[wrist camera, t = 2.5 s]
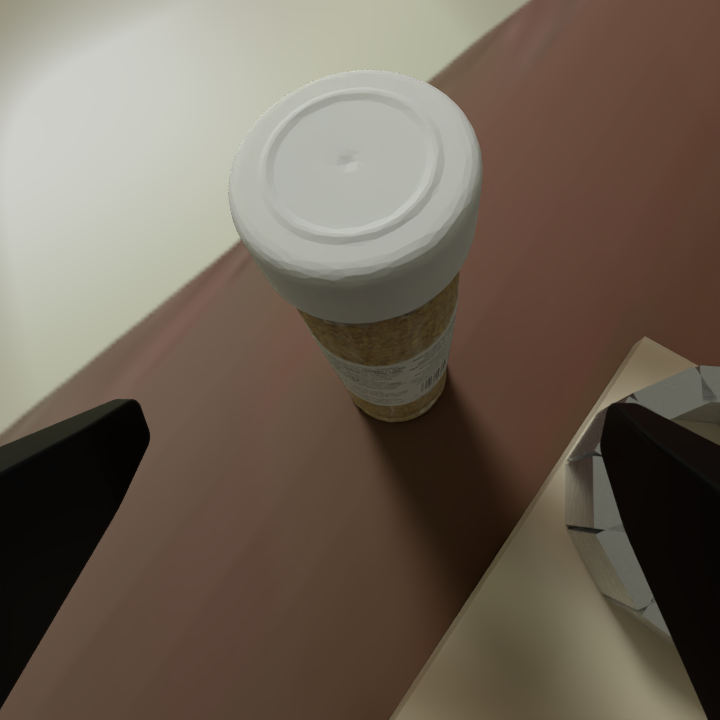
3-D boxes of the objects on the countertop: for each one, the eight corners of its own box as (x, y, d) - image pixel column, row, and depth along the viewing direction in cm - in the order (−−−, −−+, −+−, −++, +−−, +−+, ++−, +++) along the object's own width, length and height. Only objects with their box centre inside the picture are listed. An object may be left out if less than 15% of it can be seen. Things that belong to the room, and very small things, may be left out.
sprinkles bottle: (392, 309, 21) (347, 21, 9) (468, 371, 20) (547, 136, 7) (324, 378, 21) (168, 178, 8) (398, 447, 19) (349, 337, 7)
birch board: (755, 1095, 13) (782, 1143, 12) (382, 729, 16) (379, 743, 15) (996, 548, 16) (1032, 550, 15) (634, 344, 19) (645, 336, 18)
